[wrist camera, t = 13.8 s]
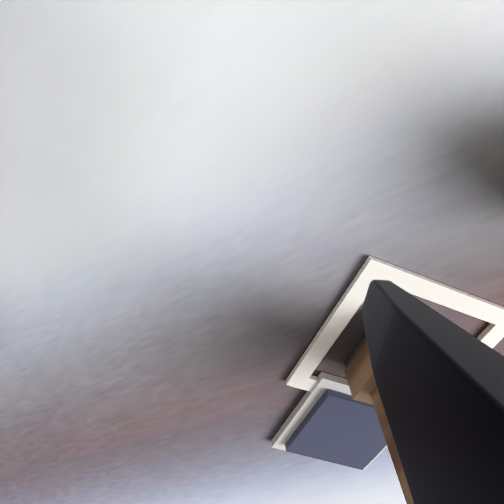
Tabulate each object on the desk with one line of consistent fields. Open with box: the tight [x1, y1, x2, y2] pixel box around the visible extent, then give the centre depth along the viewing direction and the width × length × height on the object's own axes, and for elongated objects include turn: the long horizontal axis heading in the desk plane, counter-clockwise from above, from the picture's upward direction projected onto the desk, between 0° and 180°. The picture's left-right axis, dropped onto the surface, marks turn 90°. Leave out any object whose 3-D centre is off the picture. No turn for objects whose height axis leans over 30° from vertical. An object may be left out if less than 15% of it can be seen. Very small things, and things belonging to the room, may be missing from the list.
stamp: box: [345, 335, 414, 504], centre depth 21 cm, size 5×5×14 cm
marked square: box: [286, 256, 504, 392], centre depth 26 cm, size 11×11×1 cm
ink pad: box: [271, 372, 387, 470], centre depth 30 cm, size 9×9×1 cm
